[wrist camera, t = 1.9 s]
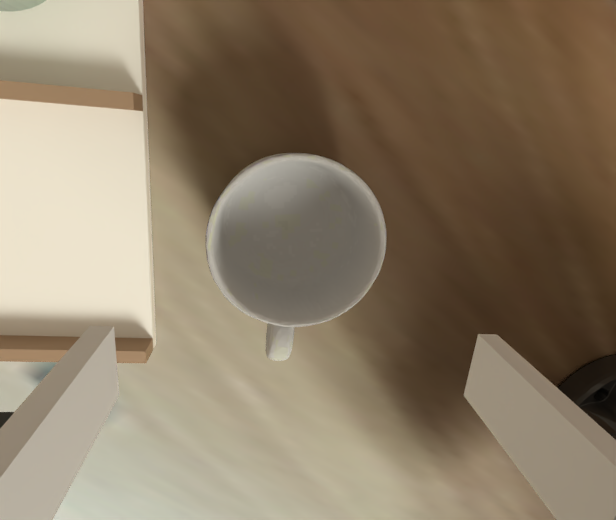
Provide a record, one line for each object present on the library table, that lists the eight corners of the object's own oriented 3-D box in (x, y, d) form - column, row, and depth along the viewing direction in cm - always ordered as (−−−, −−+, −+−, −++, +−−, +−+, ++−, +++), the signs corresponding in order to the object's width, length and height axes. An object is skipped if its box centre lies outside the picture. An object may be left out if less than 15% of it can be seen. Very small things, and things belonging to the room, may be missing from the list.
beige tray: (132, -259, 22) (112, -317, 19) (156, 343, 33) (146, 363, 30) (-205, -324, 20) (-283, -401, 17) (-57, 338, 31) (-90, 359, 28)
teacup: (245, 124, 28) (238, 123, 21) (381, 177, 31) (419, 193, 23) (191, 295, 32) (168, 347, 24) (316, 332, 34) (331, 390, 27)
